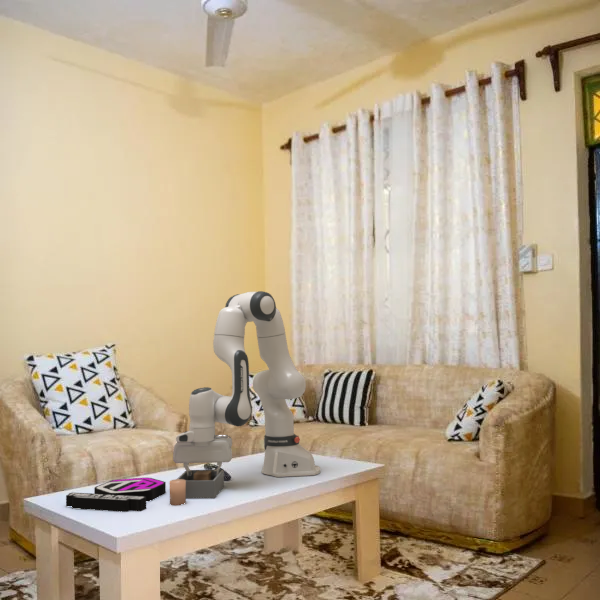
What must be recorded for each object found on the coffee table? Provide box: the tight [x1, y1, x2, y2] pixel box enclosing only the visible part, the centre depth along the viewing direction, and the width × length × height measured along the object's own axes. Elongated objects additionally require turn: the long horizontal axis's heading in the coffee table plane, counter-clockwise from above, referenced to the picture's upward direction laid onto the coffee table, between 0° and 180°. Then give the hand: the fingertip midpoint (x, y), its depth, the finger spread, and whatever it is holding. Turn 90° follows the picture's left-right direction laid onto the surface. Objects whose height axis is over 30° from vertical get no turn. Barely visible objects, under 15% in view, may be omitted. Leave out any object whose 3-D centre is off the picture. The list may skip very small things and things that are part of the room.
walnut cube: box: [194, 471, 211, 481], centre depth 221 cm, size 5×5×5 cm
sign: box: [65, 477, 167, 513], centre depth 211 cm, size 27×4×30 cm
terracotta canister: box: [169, 478, 187, 506], centre depth 203 cm, size 5×5×7 cm
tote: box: [176, 469, 225, 499], centre depth 217 cm, size 13×17×6 cm
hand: (203, 475), depth 221 cm, fingers open, 8 cm apart
